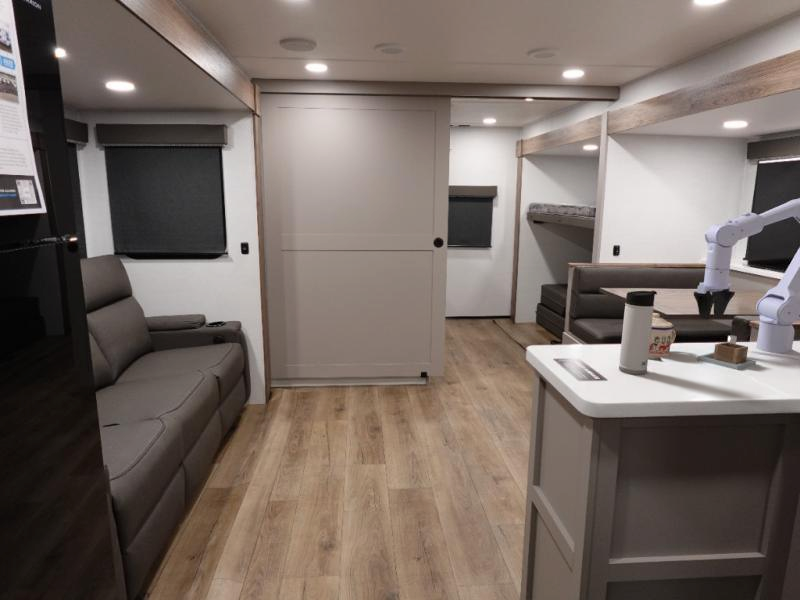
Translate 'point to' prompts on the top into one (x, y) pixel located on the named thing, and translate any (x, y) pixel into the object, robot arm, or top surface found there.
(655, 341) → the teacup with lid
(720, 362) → the tray
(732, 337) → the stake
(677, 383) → the top surface
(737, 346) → the brown wooden cube
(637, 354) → the travel mug
